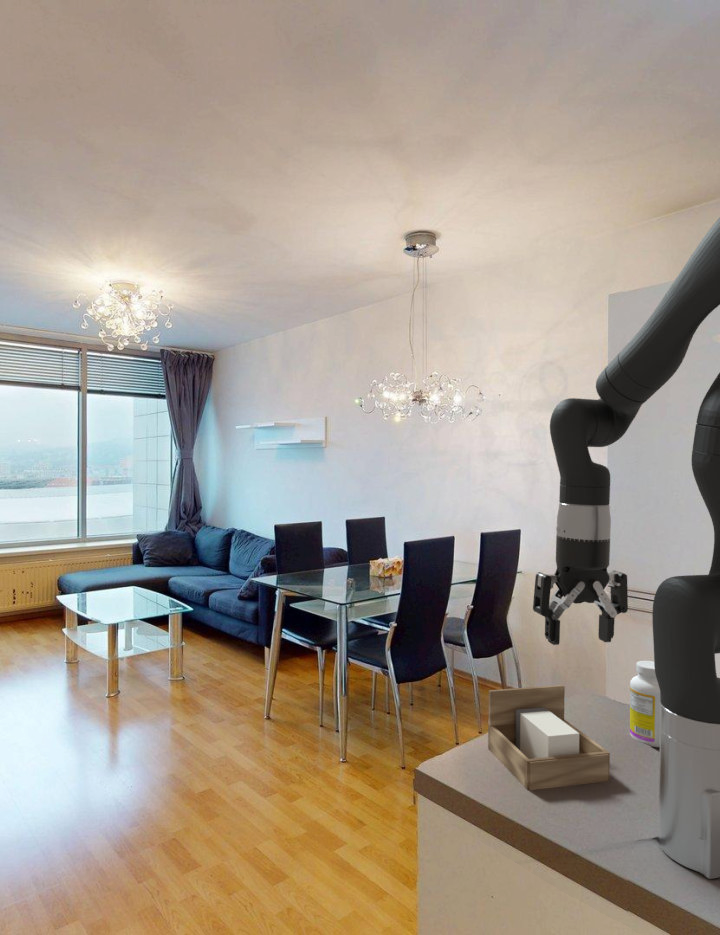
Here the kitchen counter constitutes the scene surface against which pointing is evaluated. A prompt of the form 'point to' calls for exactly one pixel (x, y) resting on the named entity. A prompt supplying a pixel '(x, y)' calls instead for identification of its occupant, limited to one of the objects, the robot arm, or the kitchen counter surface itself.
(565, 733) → the capped box
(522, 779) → the wooden box
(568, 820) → the kitchen counter surface
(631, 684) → the supplement bottle
